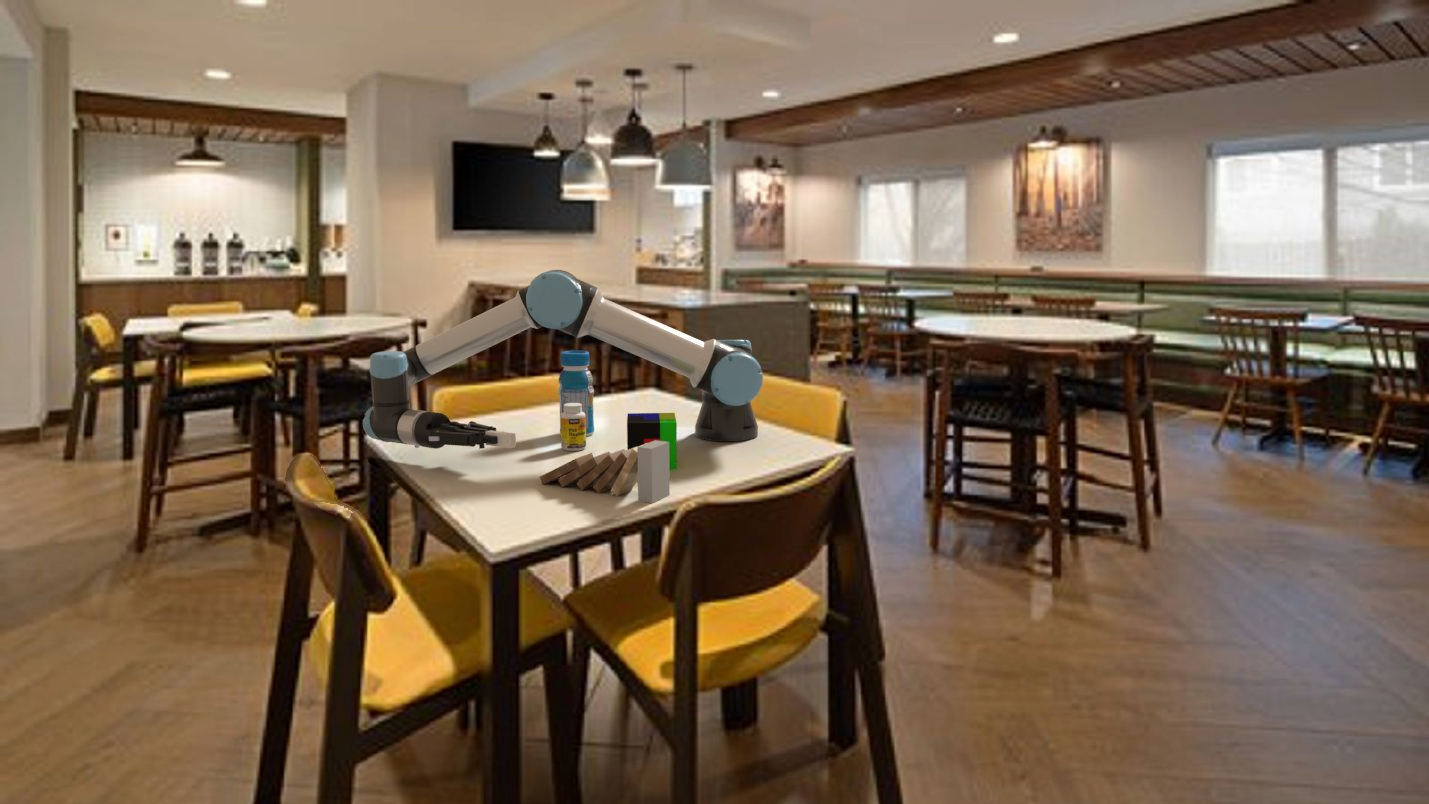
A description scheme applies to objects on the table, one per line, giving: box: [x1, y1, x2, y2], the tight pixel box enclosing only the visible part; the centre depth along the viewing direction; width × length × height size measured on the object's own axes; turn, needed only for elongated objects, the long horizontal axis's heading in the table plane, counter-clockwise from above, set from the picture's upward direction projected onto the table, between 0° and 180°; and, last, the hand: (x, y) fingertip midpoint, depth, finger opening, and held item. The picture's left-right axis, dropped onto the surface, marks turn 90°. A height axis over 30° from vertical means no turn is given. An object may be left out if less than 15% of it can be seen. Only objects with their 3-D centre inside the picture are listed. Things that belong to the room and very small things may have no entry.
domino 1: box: [539, 452, 594, 485], centre depth 169 cm, size 2×5×10 cm
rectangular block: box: [637, 440, 671, 504], centre depth 159 cm, size 3×6×10 cm, turn 152°
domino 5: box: [610, 443, 647, 497], centre depth 162 cm, size 2×5×10 cm
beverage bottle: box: [557, 350, 595, 437], centre depth 210 cm, size 8×8×20 cm
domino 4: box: [592, 446, 637, 494], centre depth 163 cm, size 2×5×10 cm
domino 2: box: [557, 451, 611, 488], centre depth 167 cm, size 2×5×10 cm
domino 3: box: [576, 448, 626, 492], centre depth 165 cm, size 2×5×10 cm
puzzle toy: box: [626, 412, 678, 471], centre depth 184 cm, size 10×10×10 cm
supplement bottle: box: [559, 403, 587, 452], centre depth 197 cm, size 6×6×10 cm
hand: (513, 440), depth 174 cm, fingers closed
